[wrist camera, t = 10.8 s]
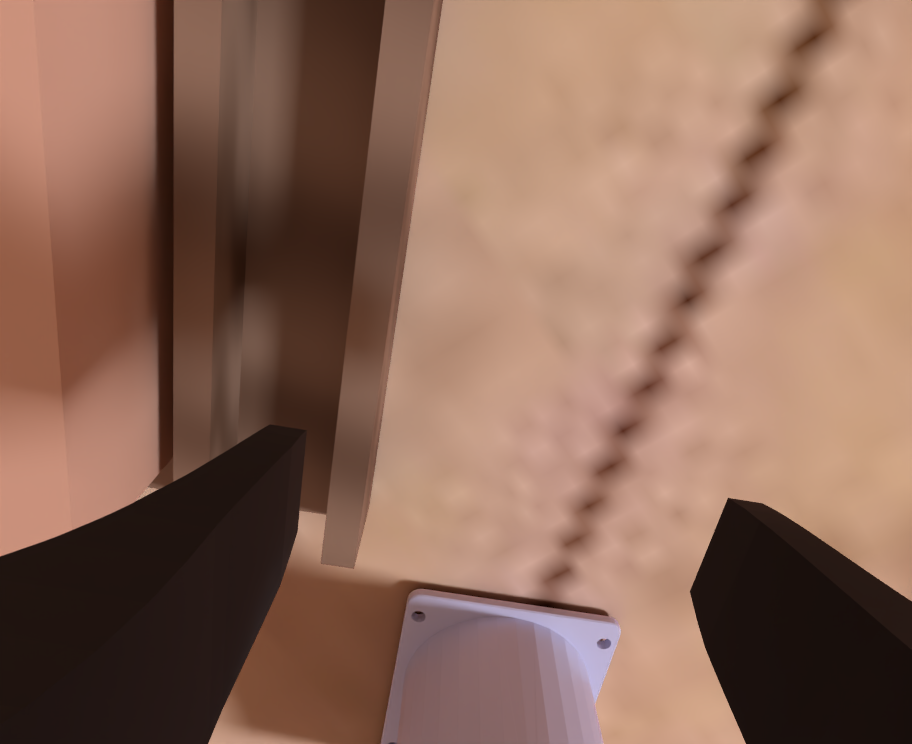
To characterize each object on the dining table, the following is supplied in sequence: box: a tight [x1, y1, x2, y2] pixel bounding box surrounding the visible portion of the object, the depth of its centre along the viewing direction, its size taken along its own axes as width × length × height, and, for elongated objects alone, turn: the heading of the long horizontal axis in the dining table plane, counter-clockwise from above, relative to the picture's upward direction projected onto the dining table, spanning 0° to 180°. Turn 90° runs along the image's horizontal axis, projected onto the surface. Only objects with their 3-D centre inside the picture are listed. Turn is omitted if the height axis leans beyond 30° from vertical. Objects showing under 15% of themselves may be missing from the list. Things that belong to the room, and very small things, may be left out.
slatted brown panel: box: [148, 0, 443, 569], centre depth 16 cm, size 20×14×3 cm
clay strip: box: [0, 0, 174, 556], centre depth 14 cm, size 16×2×6 cm, turn 170°
